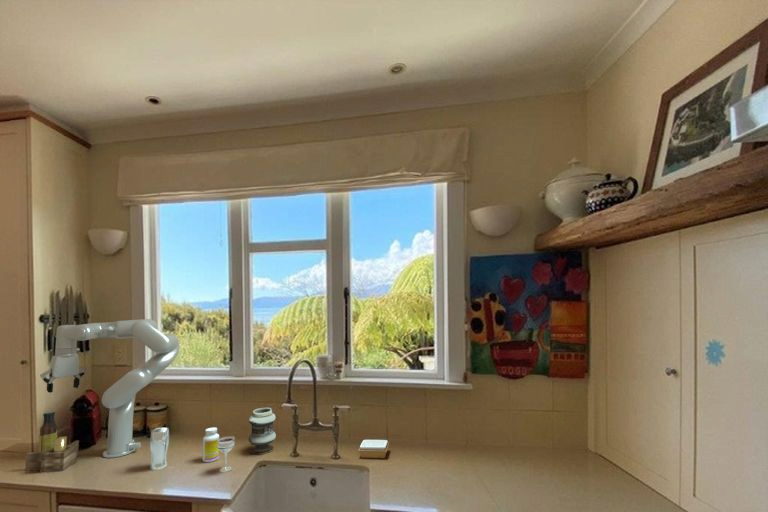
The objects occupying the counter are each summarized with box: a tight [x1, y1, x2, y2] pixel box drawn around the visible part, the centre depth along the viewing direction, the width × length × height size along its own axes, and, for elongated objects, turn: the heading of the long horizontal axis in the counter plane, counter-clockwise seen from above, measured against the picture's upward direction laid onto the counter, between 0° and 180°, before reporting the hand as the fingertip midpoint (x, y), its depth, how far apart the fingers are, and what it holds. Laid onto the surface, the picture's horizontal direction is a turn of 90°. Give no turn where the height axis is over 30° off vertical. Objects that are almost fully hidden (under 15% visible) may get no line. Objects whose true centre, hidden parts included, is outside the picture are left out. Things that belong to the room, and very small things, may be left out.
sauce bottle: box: [38, 410, 58, 452], centre depth 176 cm, size 7×6×20 cm
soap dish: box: [358, 439, 390, 459], centre depth 169 cm, size 12×10×5 cm
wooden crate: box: [24, 440, 80, 474], centre depth 167 cm, size 16×16×7 cm
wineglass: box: [217, 435, 236, 473], centre depth 158 cm, size 7×7×12 cm
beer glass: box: [149, 426, 170, 471], centre depth 162 cm, size 7×7×15 cm
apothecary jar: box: [248, 407, 277, 455], centre depth 178 cm, size 12×12×18 cm
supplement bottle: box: [201, 427, 220, 463], centre depth 169 cm, size 7×7×13 cm
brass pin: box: [54, 436, 68, 452], centre depth 164 cm, size 4×4×12 cm
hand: (63, 389), depth 175 cm, fingers open, 9 cm apart
